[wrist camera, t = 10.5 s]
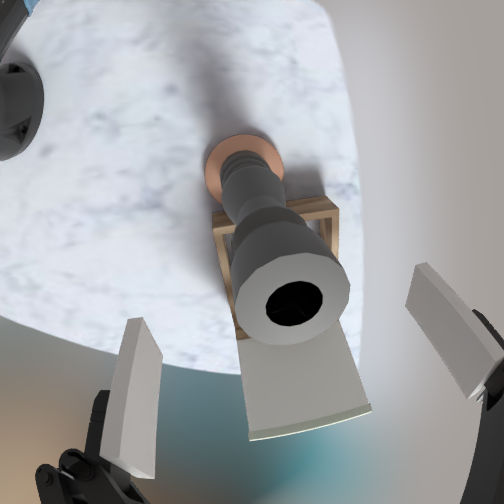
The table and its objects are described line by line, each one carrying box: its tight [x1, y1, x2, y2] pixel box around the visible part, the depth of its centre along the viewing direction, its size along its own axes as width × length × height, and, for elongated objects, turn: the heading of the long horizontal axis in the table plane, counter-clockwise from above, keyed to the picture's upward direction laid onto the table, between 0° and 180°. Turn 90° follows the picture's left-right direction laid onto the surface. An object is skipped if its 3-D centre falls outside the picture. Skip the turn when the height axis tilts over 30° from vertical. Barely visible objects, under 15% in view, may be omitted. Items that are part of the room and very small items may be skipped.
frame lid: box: [237, 320, 372, 441], centre depth 36 cm, size 4×16×15 cm, turn 97°
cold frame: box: [212, 196, 339, 340], centre depth 40 cm, size 25×16×12 cm, turn 7°
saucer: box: [205, 134, 284, 205], centre depth 35 cm, size 10×10×1 cm
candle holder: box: [220, 150, 350, 345], centre depth 24 cm, size 6×6×25 cm
